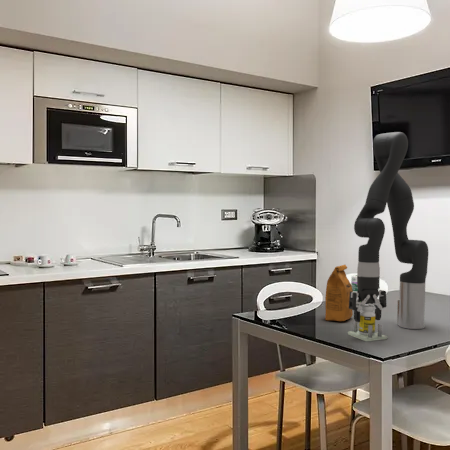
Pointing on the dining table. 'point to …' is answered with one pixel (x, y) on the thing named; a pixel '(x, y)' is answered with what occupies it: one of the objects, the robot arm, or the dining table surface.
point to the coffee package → (338, 296)
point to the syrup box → (354, 285)
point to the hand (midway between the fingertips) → (367, 320)
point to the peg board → (368, 337)
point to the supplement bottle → (367, 319)
